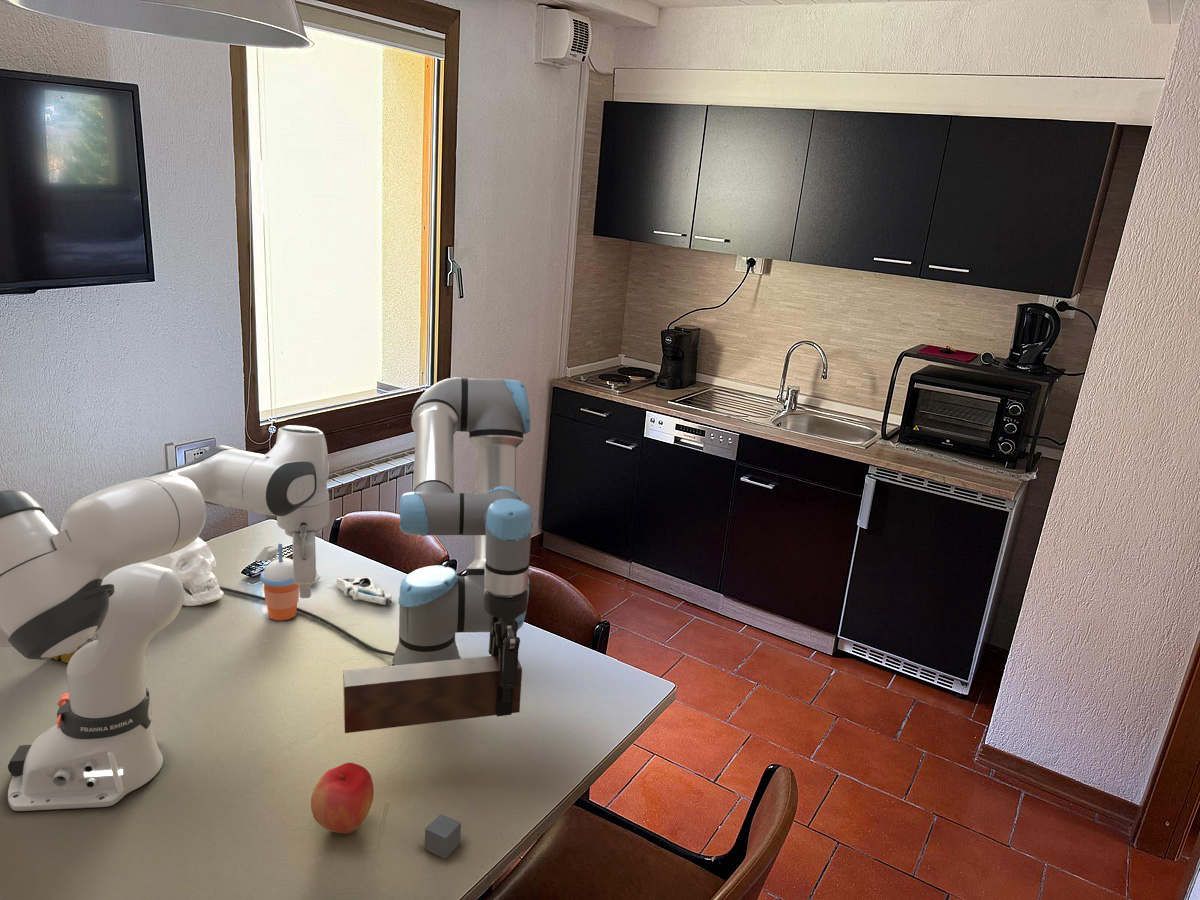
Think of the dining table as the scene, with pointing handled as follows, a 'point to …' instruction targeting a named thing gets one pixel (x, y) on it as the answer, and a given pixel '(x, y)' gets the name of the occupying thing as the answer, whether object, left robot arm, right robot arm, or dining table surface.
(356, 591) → the toy gun
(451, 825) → the grey block
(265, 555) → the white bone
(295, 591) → the cup with straw
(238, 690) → the dining table surface
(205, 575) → the skull
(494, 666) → the walnut bar
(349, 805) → the apple
